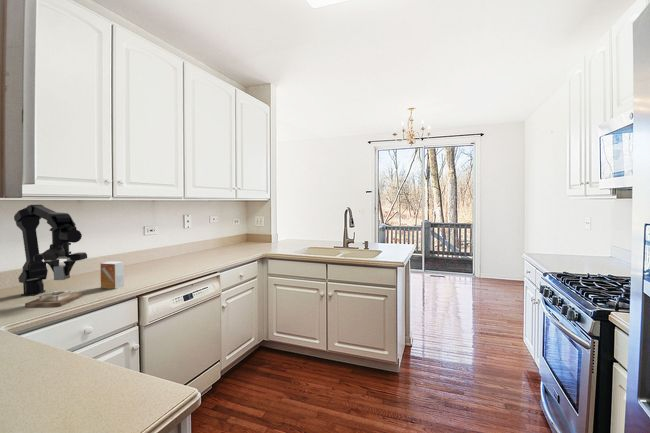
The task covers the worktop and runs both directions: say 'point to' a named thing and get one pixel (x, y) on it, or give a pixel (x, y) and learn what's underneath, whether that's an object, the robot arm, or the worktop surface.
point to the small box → (112, 274)
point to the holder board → (54, 299)
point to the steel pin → (60, 273)
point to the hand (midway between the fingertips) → (61, 275)
